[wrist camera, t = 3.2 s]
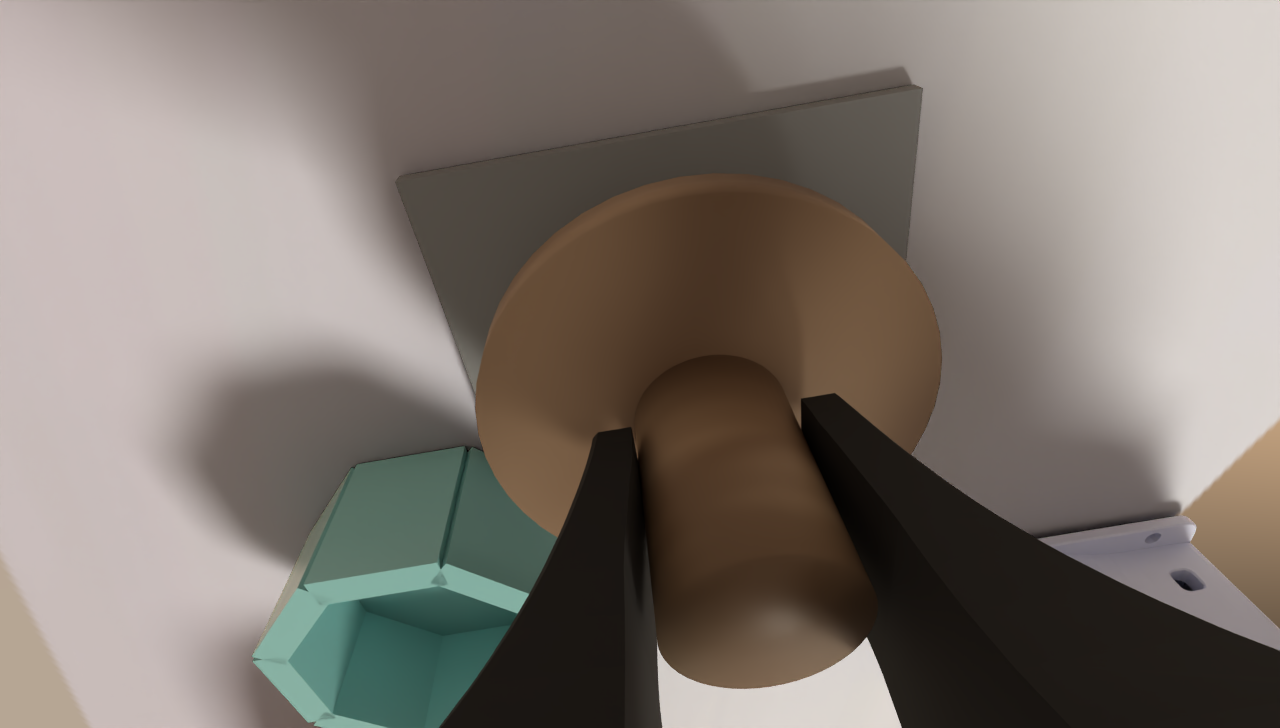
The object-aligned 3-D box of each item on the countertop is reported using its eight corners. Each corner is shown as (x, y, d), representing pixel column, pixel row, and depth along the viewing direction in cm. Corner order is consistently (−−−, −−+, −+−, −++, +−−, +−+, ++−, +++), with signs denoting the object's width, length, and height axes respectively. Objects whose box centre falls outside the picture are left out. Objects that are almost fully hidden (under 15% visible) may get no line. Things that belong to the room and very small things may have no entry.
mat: (914, 84, 13) (922, 87, 13) (884, 416, 18) (889, 424, 18) (400, 175, 13) (395, 181, 13) (512, 478, 18) (510, 488, 18)
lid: (945, 131, 10) (1231, 272, 6) (898, 504, 15) (1031, 737, 11) (417, 221, 10) (288, 428, 6) (541, 560, 15) (523, 814, 11)
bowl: (550, 431, 17) (543, 545, 14) (603, 603, 22) (606, 721, 18) (272, 478, 17) (198, 602, 14) (380, 640, 22) (344, 763, 19)
